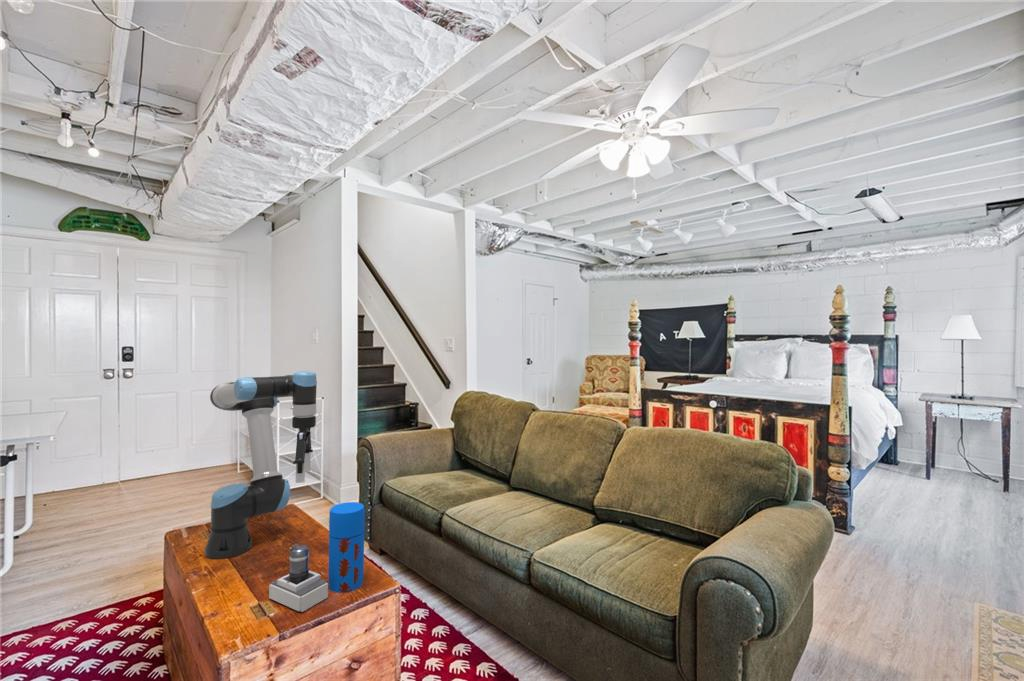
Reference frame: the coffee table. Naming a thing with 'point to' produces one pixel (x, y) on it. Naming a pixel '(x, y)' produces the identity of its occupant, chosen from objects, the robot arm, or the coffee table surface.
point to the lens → (299, 564)
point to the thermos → (346, 547)
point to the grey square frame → (299, 591)
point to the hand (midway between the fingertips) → (303, 476)
